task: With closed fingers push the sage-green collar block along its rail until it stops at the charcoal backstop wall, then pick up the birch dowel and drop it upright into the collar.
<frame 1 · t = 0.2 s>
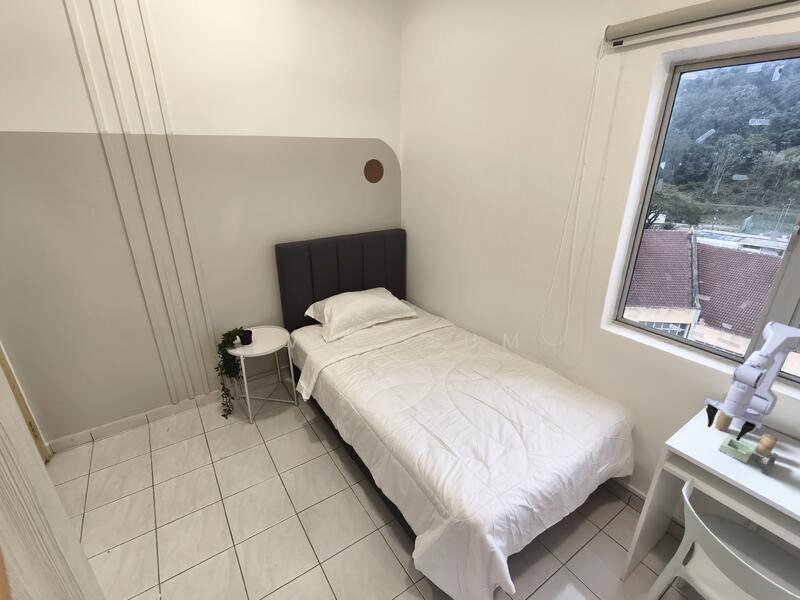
hand: (723, 432, 124), 10 cm above the table, fingers open, 7 cm apart
collar block: (736, 448, 127), point 2 cm above the table, slide at 0.0 cm
dowel: (762, 453, 127), point 1 cm above the table, touching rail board
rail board: (746, 455, 128), on the table
handle: (719, 431, 139), on the table
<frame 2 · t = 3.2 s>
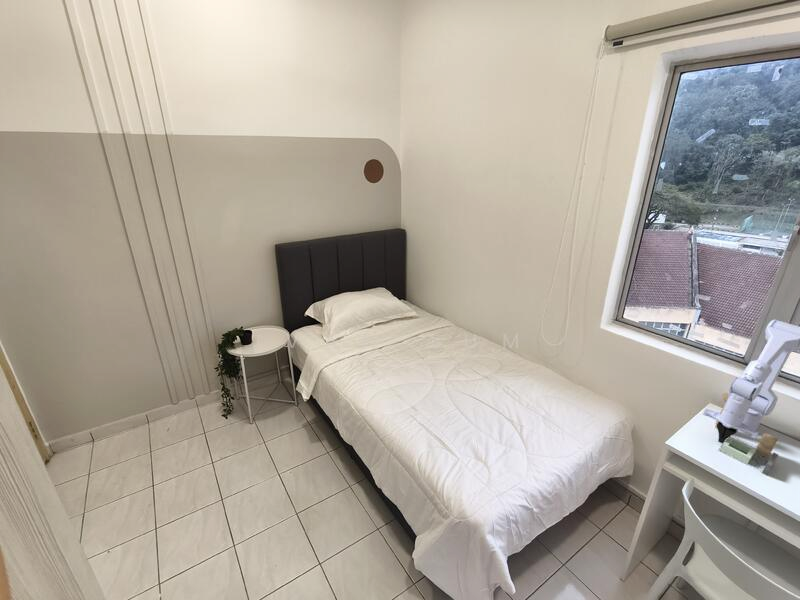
hand: (721, 441, 131), 2 cm above the table, fingers closed
collar block: (738, 449, 127), point 2 cm above the table, slide at 0.4 cm, touching gripper
everything else where it was.
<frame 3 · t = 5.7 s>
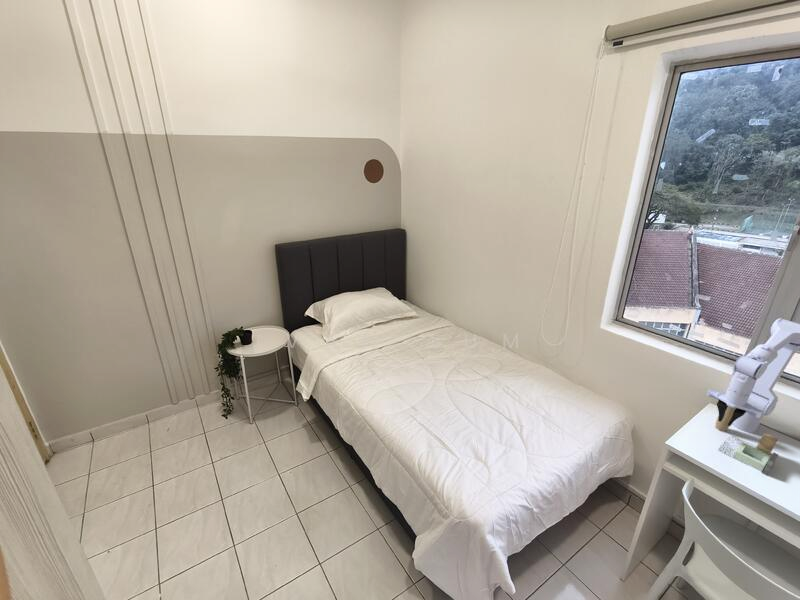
hand: (724, 422, 129), 10 cm above the table, fingers closed
collar block: (751, 456, 124), point 2 cm above the table, slide at 4.0 cm
everything else where it was.
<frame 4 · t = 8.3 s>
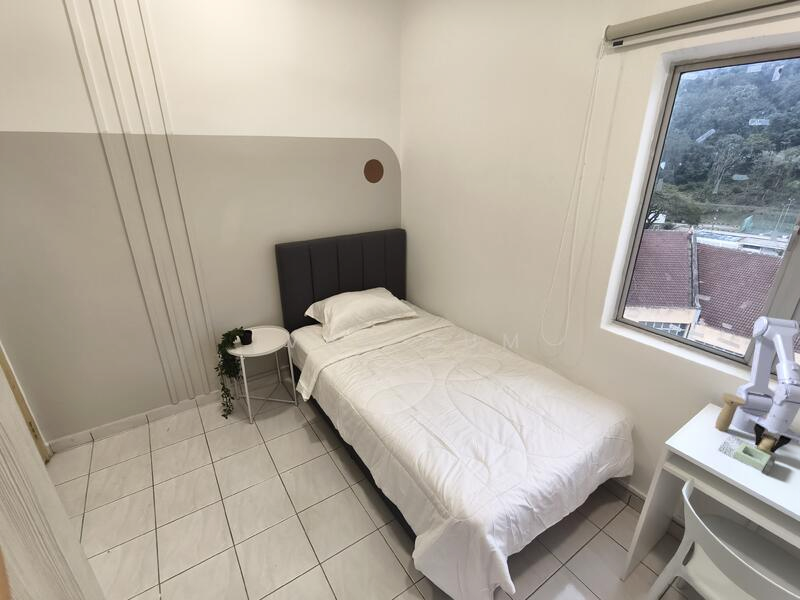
hand: (764, 447, 127), 3 cm above the table, fingers closed on dowel, 4 cm apart
dowel: (762, 453, 127), point 1 cm above the table, touching gripper, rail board
everything else where it was.
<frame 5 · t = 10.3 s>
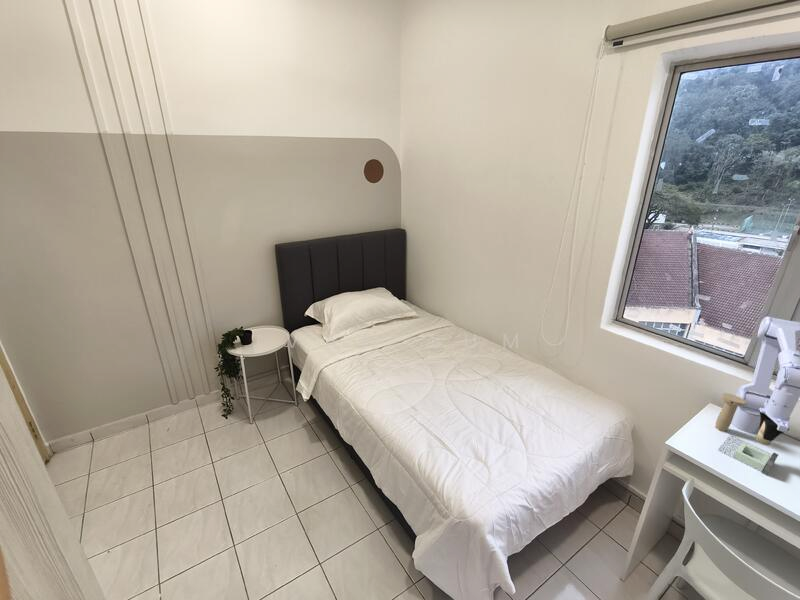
hand: (765, 435, 122), 10 cm above the table, fingers closed on dowel, 4 cm apart
dowel: (762, 441, 123), point 8 cm above the table, touching gripper
everything else where it was.
when the fingers open (4 cm above the table, at t = 12.4 s): dowel stays where it is, resting on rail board.
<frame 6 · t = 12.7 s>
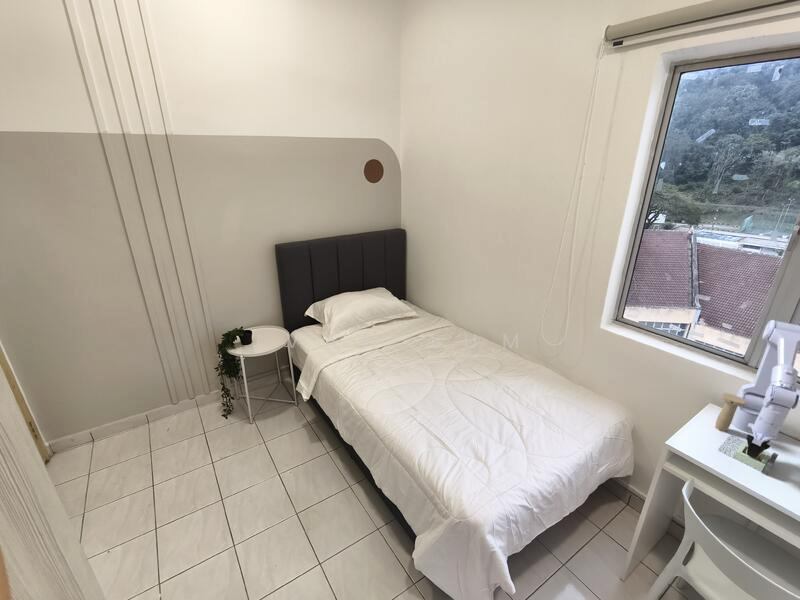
hand: (753, 452, 124), 4 cm above the table, fingers open, 6 cm apart
dowel: (750, 459, 125), point 1 cm above the table, touching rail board
everything else where it was.
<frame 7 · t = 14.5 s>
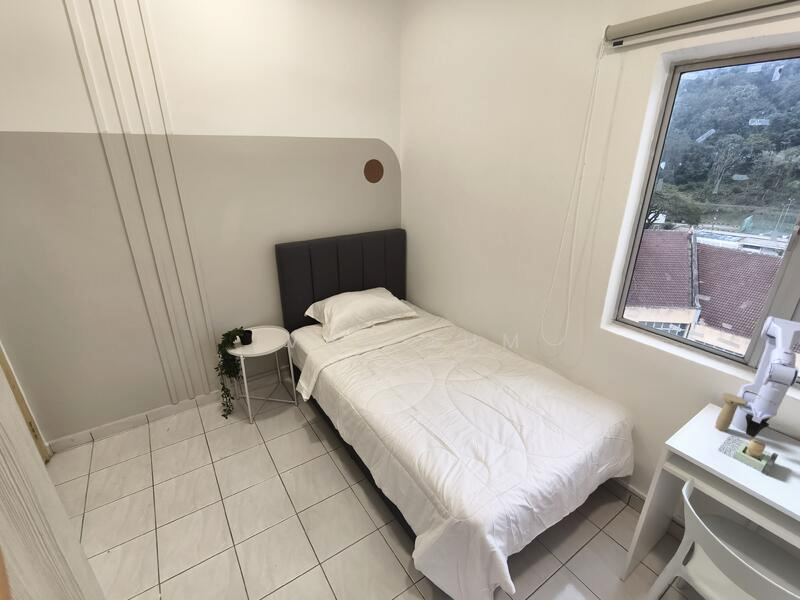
hand: (753, 430, 125), 10 cm above the table, fingers open, 7 cm apart
nothing on the table moved.
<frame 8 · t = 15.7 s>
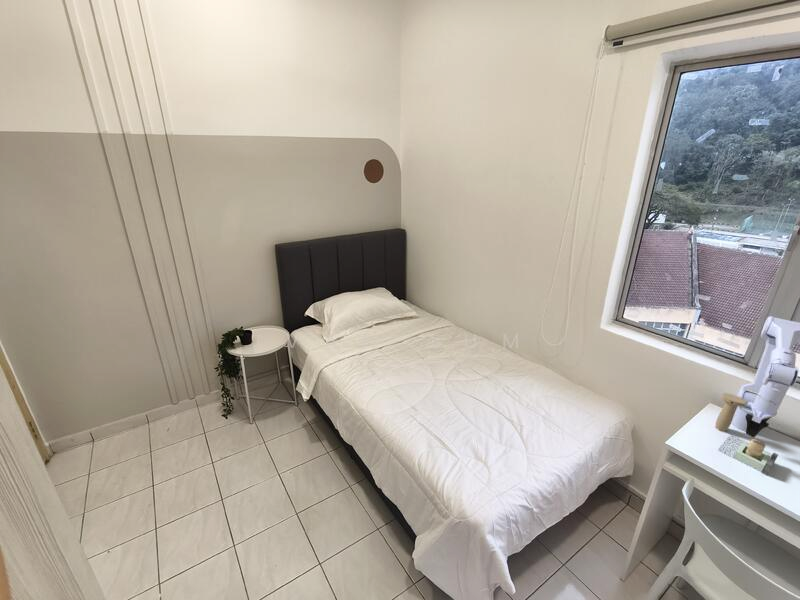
hand: (753, 430, 125), 10 cm above the table, fingers open, 7 cm apart
nothing on the table moved.
at the end: collar block slide at 4.0 cm; dowel 0.0 cm from the collar block (horizontally); dowel tilted 1° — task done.
